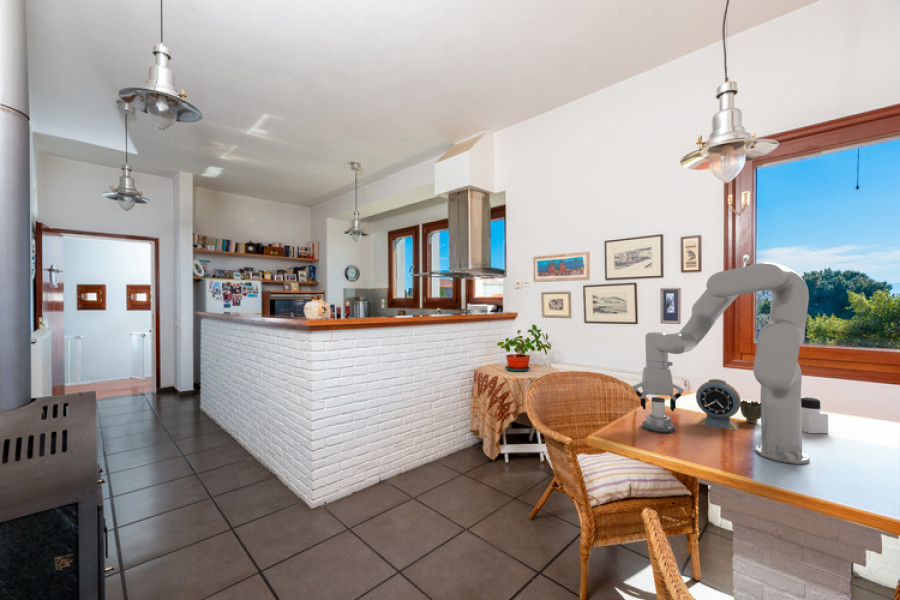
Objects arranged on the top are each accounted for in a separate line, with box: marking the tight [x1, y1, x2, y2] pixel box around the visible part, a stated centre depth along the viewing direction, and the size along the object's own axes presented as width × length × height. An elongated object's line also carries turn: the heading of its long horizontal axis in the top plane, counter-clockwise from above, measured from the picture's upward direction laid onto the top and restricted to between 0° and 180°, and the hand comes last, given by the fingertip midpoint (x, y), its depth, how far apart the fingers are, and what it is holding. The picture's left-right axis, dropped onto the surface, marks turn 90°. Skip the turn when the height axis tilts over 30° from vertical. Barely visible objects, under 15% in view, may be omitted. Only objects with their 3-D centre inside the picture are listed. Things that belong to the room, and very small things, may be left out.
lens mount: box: [641, 413, 676, 434], centre depth 145 cm, size 11×11×4 cm
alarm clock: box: [695, 378, 742, 432], centre depth 148 cm, size 14×10×18 cm
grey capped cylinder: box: [651, 396, 666, 419], centre depth 145 cm, size 4×4×10 cm
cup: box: [739, 399, 761, 424], centre depth 150 cm, size 8×7×8 cm
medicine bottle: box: [801, 396, 829, 434], centre depth 140 cm, size 7×7×12 cm
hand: (657, 409), depth 145 cm, fingers open, 9 cm apart
